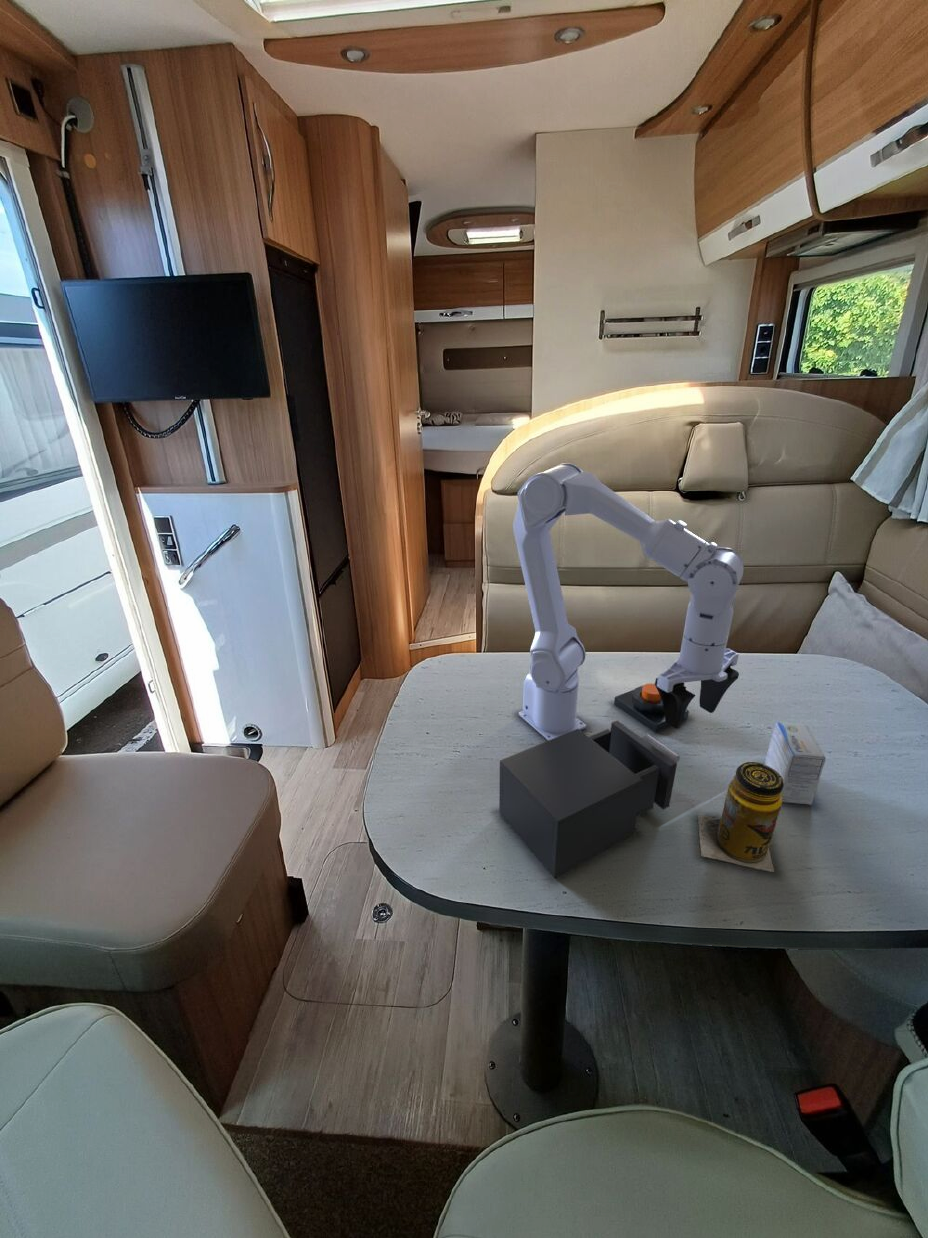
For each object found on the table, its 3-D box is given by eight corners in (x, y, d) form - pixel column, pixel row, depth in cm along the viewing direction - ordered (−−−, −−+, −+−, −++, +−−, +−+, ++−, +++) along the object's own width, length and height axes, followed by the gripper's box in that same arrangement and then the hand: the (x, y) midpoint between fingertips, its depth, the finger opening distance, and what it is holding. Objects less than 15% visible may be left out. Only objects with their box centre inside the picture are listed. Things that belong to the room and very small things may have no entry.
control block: (613, 704, 103) (615, 688, 101) (645, 691, 106) (647, 676, 105) (655, 733, 95) (657, 716, 93) (687, 718, 98) (690, 702, 97)
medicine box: (811, 806, 79) (828, 758, 75) (777, 802, 80) (792, 754, 76) (794, 769, 86) (808, 723, 82) (762, 766, 87) (775, 720, 83)
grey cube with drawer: (573, 779, 85) (578, 728, 81) (634, 834, 75) (642, 779, 71) (499, 813, 79) (499, 760, 75) (554, 878, 69) (558, 821, 65)
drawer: (632, 751, 89) (637, 711, 86) (689, 795, 80) (698, 752, 77) (548, 789, 82) (551, 747, 78) (602, 842, 73) (607, 797, 70)
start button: (637, 695, 100) (638, 686, 99) (651, 689, 101) (652, 681, 101) (652, 705, 97) (653, 696, 96) (667, 699, 99) (668, 690, 98)
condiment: (773, 873, 69) (797, 799, 64) (701, 857, 72) (717, 785, 66) (764, 829, 75) (784, 759, 70) (697, 816, 78) (712, 747, 73)
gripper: (692, 662, 71) (677, 747, 77) (764, 635, 77) (745, 715, 83) (650, 640, 76) (639, 721, 82) (720, 616, 83) (705, 693, 89)
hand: (689, 717), depth 83 cm, fingers open, 7 cm apart
